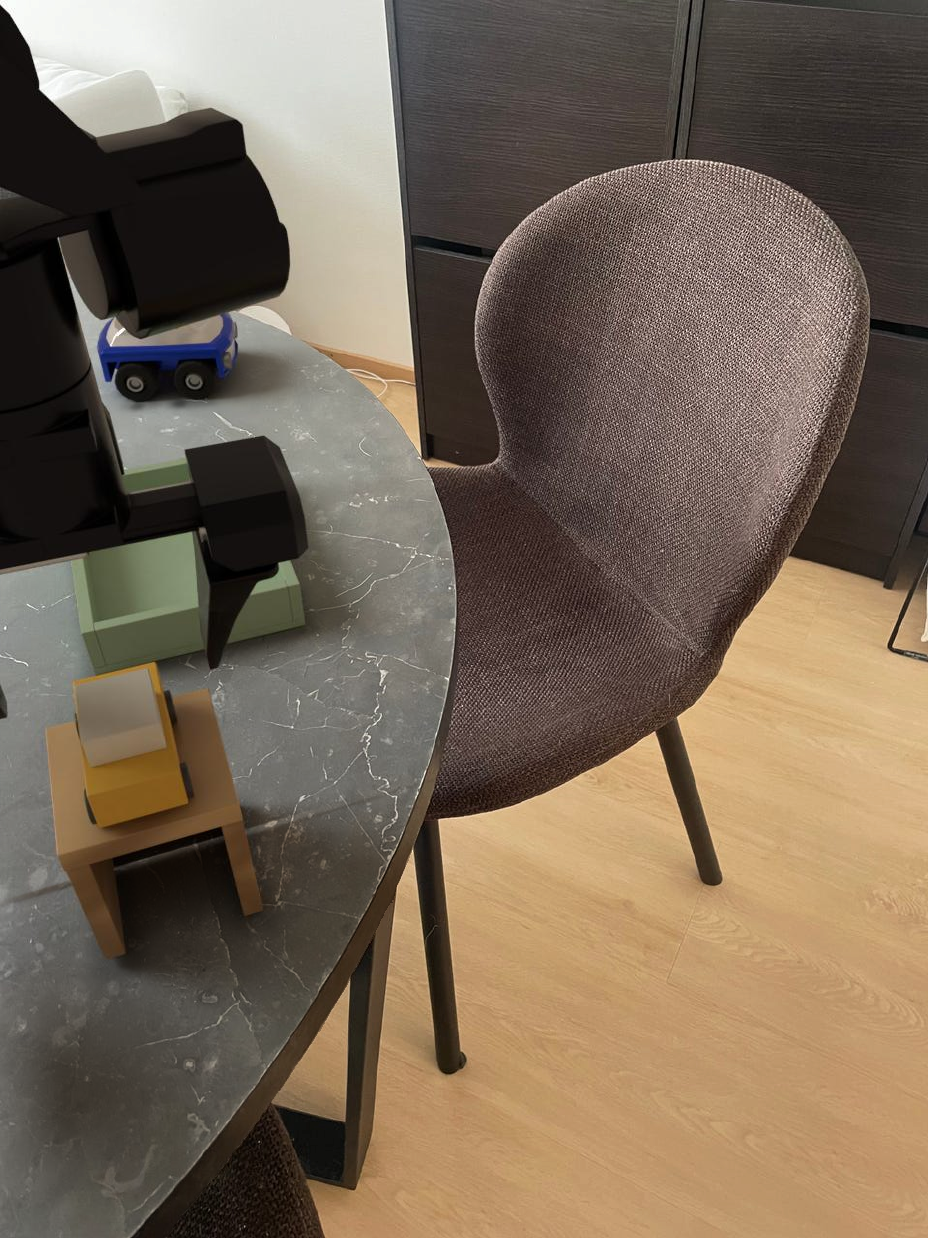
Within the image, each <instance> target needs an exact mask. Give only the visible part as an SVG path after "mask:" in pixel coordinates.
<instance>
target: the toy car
mask: <svg viewBox="0 0 928 1238" xmlns="http://www.w3.org/2000/svg"><path fill="white" fill-rule="evenodd" d="M238 335H239V333H238V325H237V322H236V321H234V319H233V318H232V316H231V314H230V312H228V313H224V314H221V315H218V316H215V317H212V318H208V319H205V320H202V321H199V322H195V323H192V324H189V325H186V326H183V327H179V328H176V329H173V330H170V331H166V332H163V333H160V334H157V335H153V336H150V337H147V338H144V339H138V338H136V337H133V336H132V335H130V334H129V333H128V332H127V331H126V330H125V329H124V327H123V326H122V325H121V324H120V323H119V322H118V320H117V319H116V317H112V318H110V319H109V320H108V321H107V322H106V323H105V325H103V328H102V329H101V331H100V332H99V335H98V338H97V344H96V350H97V354H98V357H99V362H100V366H101V371H102V374H103V378H104V381H105V383H112V381H113V377H114V385H115V388H116V390H117V391H118V392H119V393H120V395H121V396H122V397H124V398H125V399H127V400H129V401H133V402H144V401H147V400H149V399H150V398H152V397H153V395H154V394H155V393H156V390H157V387H158V383H159V379H160V373H161V372H163V371H169V370H172V371H175V372H174V375H173V382H174V385H175V388H176V390H178V392H179V393H180V394H182V396H185V397H186V398H188V399H189V398H190V399H192V400H193V399H194V400H198V399H204V398H206V397H208V396H210V395H211V394H212V392H213V391H214V389H215V384H216V380H217V376H218V378H226V377H227V376H228V374H229V373H230V372H231V370H232V369H233V368H234V367H235V364H236V362H237V360H238V357H239V344H238V342H237V340H236V339H238V337H239V336H238ZM115 370H116V373H115ZM114 375H115V376H114Z"/></svg>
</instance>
